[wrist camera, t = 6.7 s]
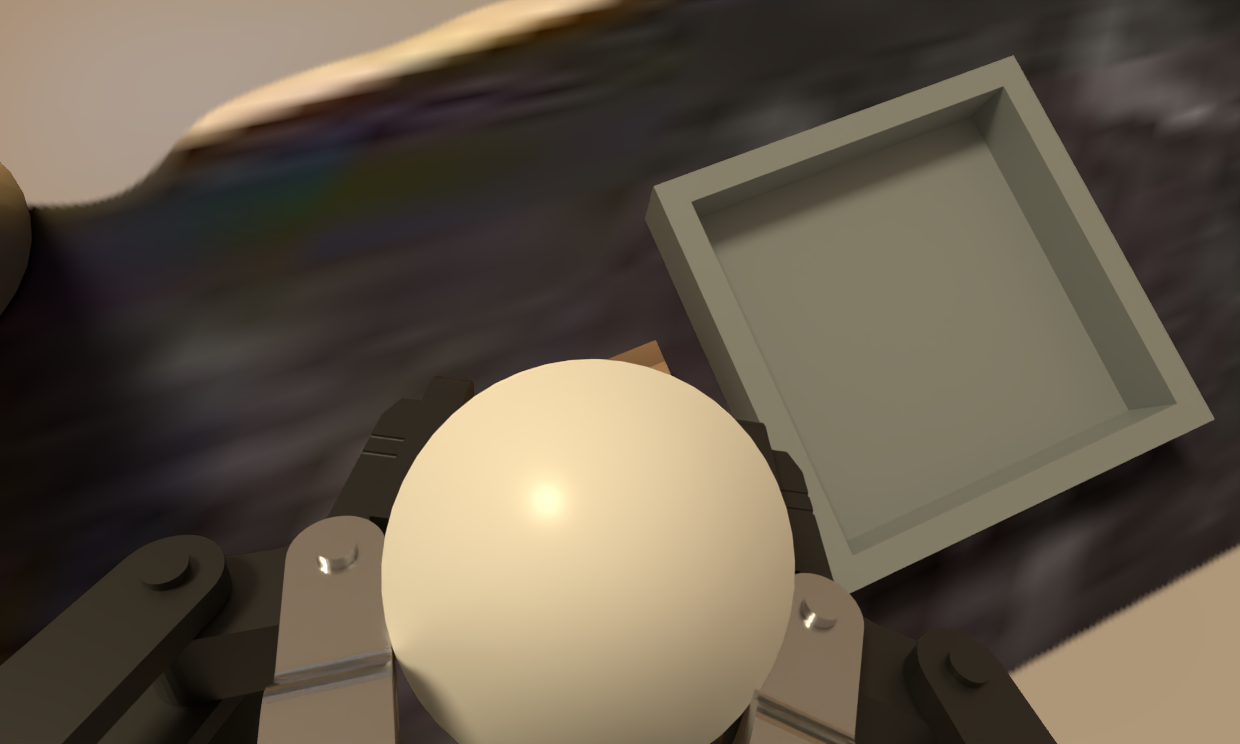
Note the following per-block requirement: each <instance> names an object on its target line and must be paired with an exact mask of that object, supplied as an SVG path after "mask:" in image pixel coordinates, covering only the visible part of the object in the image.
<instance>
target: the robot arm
mask: <svg viewBox="0 0 1240 744" xmlns="http://www.w3.org/2000/svg"><path fill="white" fill-rule="evenodd" d="M31 243H32V236H31V218H30V213H29V210H28V207H27V204H26V201H25V197H24V194H23V192H22V190H21V189H20V187H19V186H18V184H17V182H16V181H15V179H14V178H13V176H12V174H11V173H10V172H9V171H8V170H7V169H6V168H5V167H4V166H3V165H2V164H1V163H0V315H1V314H2V312H3V311H4V309H5V308H6V307H7V305H8V304H9V302H10V301H11V299H12V298H13V296H14V295H15V293H16V292H17V290H18V287H19V285H20V283H21V280H22V278H23V275H24V273H25V271H26V268H27V265H28V259H29V254H30V248H31ZM473 397H474V384H473V382H472V381H466V380H459V379H452V378H445V377H437V376H434V377H433V378H432V380H431V382H430V384H429V387H428V389H427V391H426V393H425V395H424V397H423V400H422V401H419V400H412V399H404V398H402V399H401V400H399V401H398V402H397V403H396V404H394V405H393V406H392V407H390V408H389V409H388V410H387V411H385V412H384V413H383V414H382V415H381V417H380V419H379V421H378V423H377V425H376V427H375V428H374V430H373V432H372V436H371V438H369V440H368V442H367V444H366V445H365V447H364V449H363V454H361V455H360V457H359V459H358V461H357V463H356V464H355V466H354V468H353V470H352V472H351V474H350V476H349V478H348V480H347V482H346V483H345V485H344V487H343V489H342V491H341V493H340V495H339V497H338V499H337V500H336V502H335V504H334V506H333V508H332V510H331V512H330V514H329V515H328V517H327V518H326V519H324V520H321V521H319V522H317V523H315V524H313V525H311V526H309V527H308V528H306V529H305V530H304V531H302V532H301V533H300V534H299V535H298V536H297V537H296V538H295V539H294V540H293V542H292V543H291V545H288V546H285V547H282V548H278V549H273V550H268V551H261V552H254V553H247V554H240V555H233V556H226V557H224V554H223V551H222V549H221V548H220V547H219V545H218V544H216V543H215V542H214V541H212V540H210V539H208V538H206V537H202V536H197V535H177V536H171V537H167V538H163V539H160V540H157V541H154V542H151V543H149V544H147V545H145V546H143V547H141V548H140V549H138V550H136V551H135V552H133V553H132V554H130V555H129V556H128V557H126V558H125V559H124V560H123V561H122V562H120V563H119V564H118V565H117V566H116V567H115V568H113V569H112V570H111V571H110V572H109V573H108V574H107V575H105V576H104V577H103V578H102V579H101V580H100V581H98V582H97V583H96V584H95V585H94V586H93V587H91V588H90V589H89V590H88V591H87V592H86V593H84V594H83V595H82V596H81V597H80V598H79V599H78V600H76V601H75V602H74V603H73V604H72V605H71V606H69V607H68V608H67V609H66V610H65V611H64V612H62V613H61V614H60V615H59V616H58V617H57V618H55V619H54V620H53V621H52V622H51V623H50V624H49V625H47V626H46V627H45V628H44V629H43V630H42V631H40V632H39V633H38V634H37V635H36V636H35V637H33V638H32V639H31V640H30V641H29V642H28V643H27V644H25V645H24V646H23V647H22V648H21V649H20V650H18V651H17V652H16V653H15V654H14V655H13V656H11V657H10V658H9V659H8V660H7V661H6V662H4V663H3V664H2V665H1V666H0V744H208V743H209V742H210V741H211V739H212V738H213V737H214V735H215V734H216V733H217V732H218V730H219V729H220V728H221V727H222V725H223V724H224V723H225V721H226V720H227V719H228V718H229V716H230V715H231V714H232V712H233V711H234V710H235V709H236V707H237V706H238V705H239V704H240V702H241V701H242V700H243V698H244V697H245V696H246V695H247V694H249V693H254V692H258V691H263V690H265V691H264V695H263V699H262V705H261V713H260V723H259V732H258V741H257V744H401V740H400V722H399V705H398V687H397V669H396V655H395V653H394V651H393V647H392V644H391V640H390V636H389V633H388V629H387V625H386V622H385V614H384V607H383V600H382V566H381V564H382V556H383V548H384V540H385V534H386V530H387V526H388V522H389V519H390V515H391V511H392V507H393V505H394V502H395V500H396V497H397V495H398V492H399V490H400V487H401V485H402V482H403V480H404V479H405V477H406V475H407V473H408V471H409V470H410V468H411V466H412V464H413V462H414V461H415V459H416V457H417V456H418V454H419V453H420V452H421V450H422V449H423V448H424V446H425V445H426V443H427V442H428V441H429V439H430V438H431V437H432V435H433V434H434V433H435V432H436V431H437V430H438V429H439V428H440V427H441V426H442V425H443V424H444V423H445V422H446V420H447V419H448V418H449V417H450V416H451V415H452V414H453V413H455V412H456V411H457V410H458V409H460V408H461V407H462V406H463V405H465V404H466V403H467V402H468V401H469V400H471V399H472V398H473ZM735 420H736V421H737V423H738V424H739V425H740V426H741V427H742V428H743V429H744V431H745V432H746V433H747V434H748V435H749V436H750V437H751V439H752V440H753V442H754V443H755V445H756V446H757V448H758V449H759V451H760V452H761V454H762V455H763V456H764V458H765V460H766V461H767V463H768V465H769V467H770V469H771V471H772V473H773V475H774V477H775V479H776V481H777V483H778V486H779V489H780V492H781V494H782V497H783V500H784V503H785V506H786V509H787V513H788V517H789V522H790V526H791V531H792V537H793V547H794V557H795V579H794V594H793V600H792V607H791V614H790V618H789V622H788V625H787V629H786V633H785V636H784V640H783V643H782V646H781V648H780V650H779V653H778V655H777V658H776V660H775V662H774V665H773V667H772V669H771V671H770V673H769V674H768V676H767V678H766V680H765V681H764V683H763V685H762V687H761V688H760V689H755V690H754V693H753V696H752V699H751V702H750V704H749V705H748V706H747V708H746V709H745V710H744V712H743V713H742V714H741V716H740V717H739V718H738V719H737V720H736V721H735V722H734V723H733V724H732V725H731V726H730V727H729V728H728V729H727V730H726V731H725V732H724V733H723V734H722V735H721V736H719V740H718V743H717V744H1057V743H1056V741H1055V740H1054V739H1053V737H1052V736H1051V734H1050V733H1049V731H1048V730H1047V729H1046V727H1045V726H1044V724H1043V723H1042V721H1041V720H1040V719H1039V717H1038V716H1037V714H1036V713H1035V711H1034V710H1033V709H1032V707H1031V706H1030V704H1029V703H1028V701H1027V700H1026V699H1025V697H1024V696H1023V694H1022V693H1021V692H1020V690H1019V689H1018V687H1017V686H1016V684H1015V683H1014V681H1013V680H1012V679H1011V677H1010V676H1009V674H1008V673H1007V671H1006V670H1005V669H1004V667H1003V666H1002V664H1001V663H1000V662H999V661H998V659H997V658H996V657H995V656H994V655H993V654H992V653H991V652H990V651H989V650H988V649H987V648H986V647H985V646H983V645H982V644H981V643H979V642H978V641H976V640H975V639H973V638H971V637H970V636H968V635H966V634H963V633H961V632H959V631H955V630H952V629H945V628H937V629H933V630H930V631H928V632H926V633H925V634H924V635H923V636H922V637H921V638H920V639H919V641H916V640H914V639H911V638H909V637H906V636H904V635H902V634H899V633H897V632H894V631H892V630H889V629H887V628H885V627H882V626H880V625H878V624H876V623H874V622H872V621H870V620H868V619H867V618H865V617H863V616H862V613H861V611H860V608H859V607H858V605H857V603H856V602H855V600H854V599H853V598H852V596H851V595H850V594H849V593H848V592H847V591H846V590H845V589H843V588H842V587H841V586H840V585H838V584H837V583H835V582H834V580H833V577H832V573H831V570H830V566H829V563H828V559H827V556H826V552H825V549H824V545H823V542H822V538H821V535H820V531H819V528H818V524H817V521H816V517H815V515H813V507H812V503H811V500H810V497H808V489H807V486H806V482H805V479H804V475H803V472H802V470H801V469H800V468H799V467H798V465H797V464H796V463H795V461H794V460H793V459H792V458H791V456H790V455H789V454H788V453H787V452H785V451H778V450H771V446H770V442H769V438H768V433H767V429H766V426H765V424H764V423H761V422H754V421H747V420H740V419H735Z"/></svg>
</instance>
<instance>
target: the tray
mask: <svg viewBox="0 0 1240 744" xmlns="http://www.w3.org/2000/svg"><path fill="white" fill-rule="evenodd" d="M645 220H646V223H647V225H648V227H649V229H650V232H651V234H652V236H653V238H654V241H655V243H656V245H657V247H658V250H659V252H660V254H661V256H662V259H663V261H664V263H665V265H666V268H667V270H668V272H669V274H670V277H671V279H672V281H673V283H674V286H675V288H676V290H677V292H678V295H679V297H680V299H681V301H682V304H683V306H684V308H685V310H686V313H687V315H688V317H689V319H690V322H691V324H692V326H693V328H694V331H695V333H696V335H697V337H698V340H699V342H700V344H701V346H702V349H703V351H704V353H705V355H706V358H707V360H708V362H709V364H710V367H711V369H712V371H713V373H714V376H715V378H716V380H717V382H718V385H719V387H720V389H721V391H722V394H723V396H724V398H725V400H726V403H727V405H728V407H729V409H730V412H731V414H732V416H733V418H734V419H740V420H747V421H754V422H761V423H764V424H765V426H766V429H767V433H768V438H769V442H770V446H771V450H778V451H785V452H787V453H788V454H789V455H790V456H791V458H792V459H793V460H794V461H795V463H796V464H797V465H798V467H799V468H800V469H801V470H802V472H803V475H804V479H805V482H806V486H807V489H808V497H810V500H811V503H812V507H813V515H815V517H816V521H817V524H818V528H819V531H820V535H821V538H822V542H823V545H824V549H825V552H826V556H827V559H828V563H829V566H830V570H831V573H832V577H833V580H834V582H835V583H837V584H838V585H840V586H841V587H842V588H843V589H845V590H846V591H847V592H848V593H849V594H850V593H852V592H854V591H856V590H858V589H860V588H862V587H864V586H866V585H868V584H871V583H873V582H875V581H877V580H879V579H881V578H883V577H885V576H887V575H889V574H891V573H894V572H896V571H898V570H900V569H902V568H904V567H906V566H908V565H910V564H912V563H914V562H917V561H919V560H921V559H923V558H925V557H927V556H929V555H931V554H933V553H935V552H938V551H940V550H942V549H944V548H946V547H948V546H950V545H952V544H954V543H956V542H958V541H961V540H963V539H965V538H967V537H969V536H971V535H973V534H975V533H977V532H979V531H982V530H984V529H986V528H988V527H990V526H992V525H994V524H996V523H998V522H1000V521H1002V520H1005V519H1007V518H1009V517H1011V516H1013V515H1015V514H1017V513H1019V512H1021V511H1023V510H1025V509H1028V508H1030V507H1032V506H1034V505H1036V504H1038V503H1040V502H1042V501H1044V500H1046V499H1049V498H1051V497H1053V496H1055V495H1057V494H1059V493H1061V492H1063V491H1065V490H1067V489H1069V488H1072V487H1074V486H1076V485H1078V484H1080V483H1082V482H1084V481H1086V480H1088V479H1090V478H1092V477H1095V476H1097V475H1099V474H1101V473H1103V472H1105V471H1107V470H1109V469H1111V468H1113V467H1116V466H1118V465H1120V464H1122V463H1124V462H1126V461H1128V460H1130V459H1132V458H1134V457H1136V456H1139V455H1141V454H1143V453H1145V452H1147V451H1149V450H1151V449H1153V448H1155V447H1157V446H1159V445H1162V444H1164V443H1166V442H1168V441H1170V440H1172V439H1174V438H1176V437H1178V436H1180V435H1183V434H1185V433H1187V432H1189V431H1191V430H1193V429H1195V428H1197V427H1199V426H1201V425H1203V424H1206V423H1208V422H1210V421H1212V420H1214V417H1213V415H1212V414H1211V412H1210V410H1209V408H1208V406H1207V405H1206V403H1205V401H1204V399H1203V397H1202V396H1201V394H1200V392H1199V390H1198V388H1197V386H1196V385H1195V383H1194V381H1193V379H1192V377H1191V376H1190V374H1189V372H1188V370H1187V368H1186V367H1185V365H1184V363H1183V361H1182V359H1181V358H1180V356H1179V354H1178V352H1177V350H1176V348H1175V347H1174V345H1173V343H1172V341H1171V339H1170V338H1169V336H1168V334H1167V332H1166V330H1165V329H1164V327H1163V325H1162V323H1161V321H1160V320H1159V318H1158V316H1157V314H1156V312H1155V310H1154V309H1153V307H1152V305H1151V303H1150V301H1149V300H1148V298H1147V296H1146V294H1145V292H1144V291H1143V289H1142V287H1141V285H1140V283H1139V282H1138V280H1137V278H1136V276H1135V274H1134V273H1133V271H1132V269H1131V267H1130V265H1129V263H1128V262H1127V260H1126V258H1125V256H1124V254H1123V253H1122V251H1121V249H1120V247H1119V245H1118V244H1117V242H1116V240H1115V238H1114V236H1113V235H1112V233H1111V231H1110V229H1109V227H1108V225H1107V224H1106V222H1105V220H1104V218H1103V216H1102V215H1101V213H1100V211H1099V209H1098V207H1097V206H1096V204H1095V202H1094V200H1093V198H1092V197H1091V195H1090V193H1089V191H1088V189H1087V187H1086V186H1085V184H1084V182H1083V180H1082V178H1081V177H1080V175H1079V173H1078V171H1077V169H1076V168H1075V166H1074V164H1073V162H1072V160H1071V159H1070V157H1069V155H1068V153H1067V151H1066V149H1065V148H1064V146H1063V144H1062V142H1061V140H1060V139H1059V137H1058V135H1057V133H1056V131H1055V130H1054V128H1053V126H1052V124H1051V122H1050V121H1049V119H1048V117H1047V115H1046V113H1045V112H1044V110H1043V108H1042V106H1041V104H1040V102H1039V101H1038V99H1037V97H1036V95H1035V93H1034V92H1033V90H1032V88H1031V86H1030V84H1029V83H1028V81H1027V79H1026V77H1025V75H1024V74H1023V72H1022V70H1021V68H1020V66H1019V64H1018V63H1017V61H1016V59H1015V57H1014V55H1013V56H1011V57H1008V58H1005V59H1002V60H1000V61H997V62H994V63H991V64H989V65H986V66H983V67H980V68H978V69H975V70H972V71H969V72H967V73H964V74H961V75H958V76H956V77H953V78H950V79H947V80H945V81H942V82H939V83H936V84H934V85H931V86H928V87H925V88H923V89H920V90H917V91H914V92H912V93H909V94H906V95H903V96H901V97H898V98H895V99H892V100H890V101H887V102H884V103H881V104H879V105H876V106H873V107H870V108H868V109H865V110H862V111H859V112H857V113H854V114H851V115H848V116H846V117H843V118H840V119H837V120H835V121H832V122H829V123H826V124H824V125H821V126H818V127H815V128H813V129H810V130H807V131H804V132H802V133H799V134H796V135H793V136H791V137H788V138H785V139H782V140H780V141H777V142H774V143H771V144H769V145H766V146H763V147H760V148H758V149H755V150H752V151H749V152H747V153H744V154H741V155H738V156H736V157H733V158H730V159H727V160H725V161H722V162H719V163H716V164H714V165H711V166H708V167H705V168H703V169H700V170H697V171H694V172H692V173H689V174H686V175H683V176H681V177H678V178H675V179H672V180H670V181H667V182H664V183H661V184H659V185H656V186H654V187H653V191H652V194H651V198H650V202H649V205H648V209H647V213H646V217H645Z"/></svg>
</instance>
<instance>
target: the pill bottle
mask: <svg viewBox="0 0 1240 744" xmlns="http://www.w3.org/2000/svg"><path fill="white" fill-rule="evenodd" d="M381 566H382V600H383V607H384V614H385V622H386V625H387V629H388V633H389V636H390V640H391V644H392V647H393V651H394V653H395V655H396V658H397V660H398V662H399V665H400V667H401V669H402V672H403V674H404V676H405V678H406V680H407V681H408V683H409V685H410V686H411V688H412V690H413V691H414V693H415V695H416V696H417V698H418V700H419V701H420V703H421V704H422V705H423V706H424V708H425V709H426V710H427V711H428V713H429V714H430V715H431V716H432V718H433V719H434V720H435V721H436V723H437V724H438V725H439V726H440V727H441V728H443V729H444V730H445V731H446V732H447V733H448V734H449V735H450V736H451V737H452V738H453V739H454V740H455V741H456V742H458V743H459V744H710V743H712V742H713V741H714V740H716V739H717V738H718V737H719V736H721V735H722V734H723V733H724V732H725V731H726V730H727V729H728V728H729V727H730V726H731V725H732V724H733V723H734V722H735V721H736V720H737V719H738V718H739V717H740V716H741V714H742V713H743V712H744V710H745V709H746V708H747V706H748V705H749V704H750V702H751V699H752V696H753V693H754V690H755V689H760V688H761V687H762V685H763V683H764V681H765V680H766V678H767V676H768V674H769V673H770V671H771V669H772V667H773V665H774V662H775V660H776V658H777V655H778V653H779V650H780V648H781V646H782V643H783V640H784V636H785V633H786V629H787V625H788V622H789V618H790V614H791V607H792V600H793V594H794V579H795V557H794V547H793V537H792V531H791V526H790V522H789V517H788V513H787V509H786V506H785V503H784V500H783V497H782V494H781V492H780V489H779V486H778V483H777V481H776V479H775V477H774V475H773V473H772V471H771V469H770V467H769V465H768V463H767V461H766V460H765V458H764V456H763V455H762V454H761V452H760V451H759V449H758V448H757V446H756V445H755V443H754V442H753V440H752V439H751V437H750V436H749V435H748V434H747V433H746V432H745V431H744V429H743V428H742V427H741V426H740V425H739V424H738V423H737V421H736V420H735V419H734V418H733V417H732V416H731V415H730V414H728V413H727V412H726V411H725V410H724V409H723V408H722V407H721V406H719V405H718V404H717V403H716V402H715V401H714V400H712V399H711V398H709V397H708V396H706V395H705V394H703V393H702V392H700V391H699V390H697V389H696V388H694V387H693V386H691V385H689V384H687V383H685V382H683V381H681V380H679V379H677V378H675V377H673V376H671V375H669V374H666V373H663V372H660V371H657V370H655V369H652V368H649V367H646V366H641V365H637V364H632V363H627V362H623V361H613V360H601V359H587V360H569V361H563V362H557V363H552V364H546V365H542V366H539V367H536V368H533V369H529V370H526V371H523V372H520V373H518V374H515V375H513V376H511V377H509V378H507V379H504V380H502V381H500V382H498V383H496V384H494V385H492V386H491V387H489V388H488V389H486V390H484V391H483V392H481V393H480V394H478V395H476V396H475V397H473V398H472V399H471V400H469V401H468V402H467V403H466V404H465V405H463V406H462V407H461V408H460V409H458V410H457V411H456V412H455V413H453V414H452V415H451V416H450V417H449V418H448V419H447V420H446V422H445V423H444V424H443V425H442V426H441V427H440V428H439V429H438V430H437V431H436V432H435V433H434V434H433V435H432V437H431V438H430V439H429V441H428V442H427V443H426V445H425V446H424V448H423V449H422V450H421V452H420V453H419V454H418V456H417V457H416V459H415V461H414V462H413V464H412V466H411V468H410V470H409V471H408V473H407V475H406V477H405V479H404V480H403V482H402V485H401V487H400V490H399V492H398V495H397V497H396V500H395V502H394V505H393V507H392V511H391V515H390V519H389V522H388V526H387V530H386V534H385V540H384V548H383V556H382V564H381Z"/></svg>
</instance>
